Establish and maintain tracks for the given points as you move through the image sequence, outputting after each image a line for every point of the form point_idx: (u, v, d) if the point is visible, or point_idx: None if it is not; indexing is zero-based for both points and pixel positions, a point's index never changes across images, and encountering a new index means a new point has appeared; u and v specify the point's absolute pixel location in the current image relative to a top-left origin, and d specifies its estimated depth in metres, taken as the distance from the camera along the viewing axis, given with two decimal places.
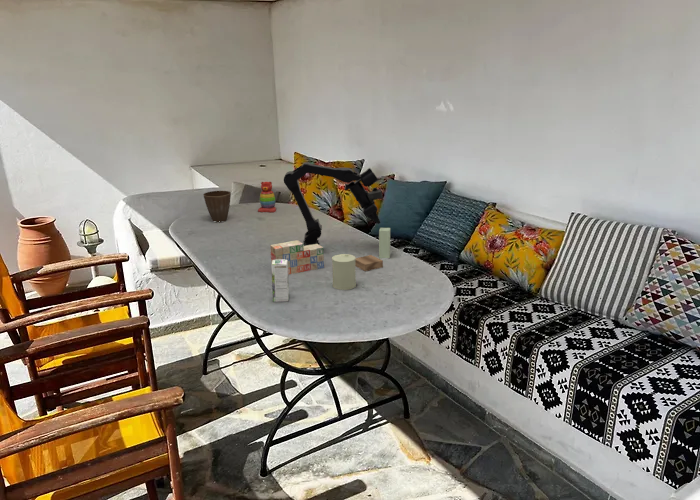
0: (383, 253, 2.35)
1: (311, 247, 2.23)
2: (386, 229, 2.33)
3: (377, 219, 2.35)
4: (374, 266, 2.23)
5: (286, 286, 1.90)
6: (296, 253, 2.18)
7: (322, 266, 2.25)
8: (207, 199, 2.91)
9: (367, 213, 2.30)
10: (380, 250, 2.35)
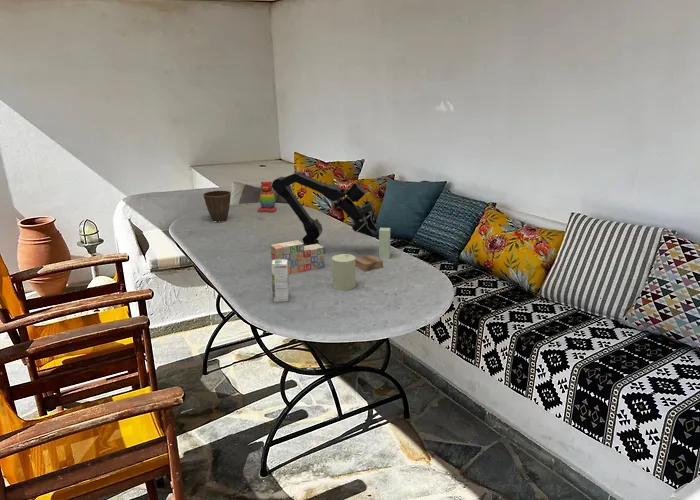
0: (383, 253, 2.35)
1: (312, 247, 2.23)
2: (386, 229, 2.33)
3: (370, 233, 2.30)
4: (374, 266, 2.23)
5: (286, 286, 1.90)
6: (296, 253, 2.18)
7: (322, 266, 2.25)
8: (207, 199, 2.91)
9: (356, 229, 2.26)
10: (380, 250, 2.35)
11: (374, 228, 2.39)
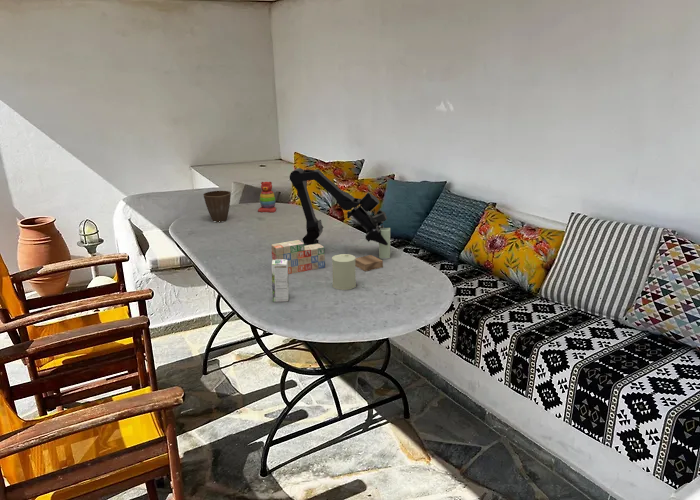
0: (383, 253, 2.35)
1: (312, 247, 2.23)
2: (386, 229, 2.33)
3: (383, 241, 2.32)
4: (374, 266, 2.23)
5: (286, 286, 1.90)
6: (297, 253, 2.18)
7: (323, 266, 2.25)
8: (207, 199, 2.91)
9: (369, 238, 2.27)
10: (380, 250, 2.35)
11: None
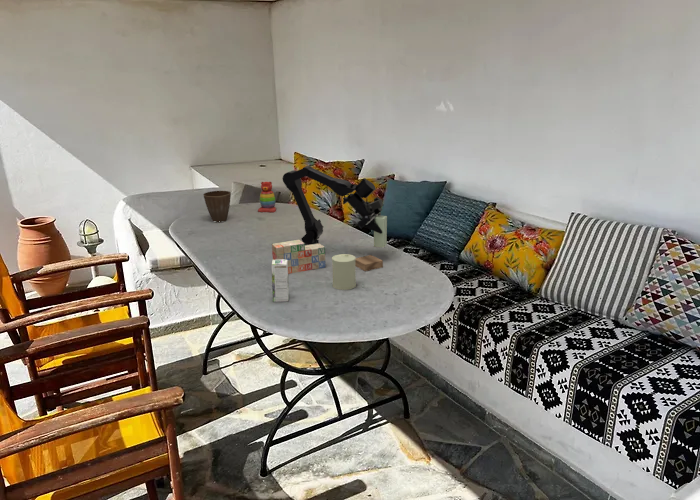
0: (377, 241, 2.29)
1: (313, 246, 2.23)
2: (382, 217, 2.27)
3: (378, 229, 2.26)
4: (374, 266, 2.23)
5: (286, 286, 1.90)
6: (297, 252, 2.19)
7: (324, 266, 2.26)
8: (207, 199, 2.91)
9: (361, 225, 2.21)
10: (375, 238, 2.29)
11: None
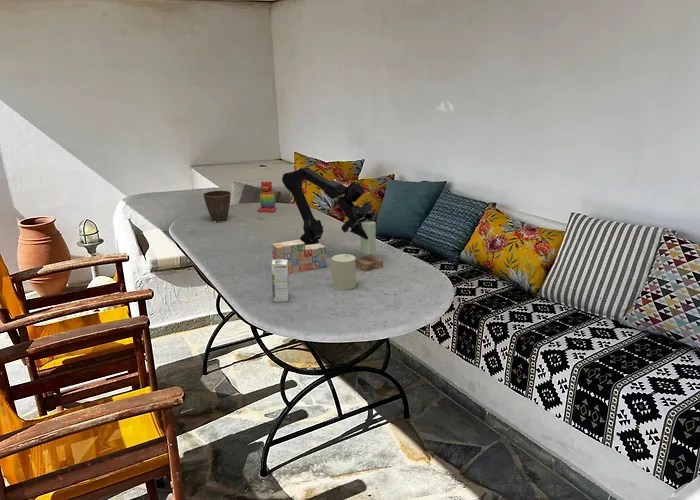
0: (364, 247, 2.22)
1: (313, 246, 2.24)
2: (369, 222, 2.20)
3: (363, 234, 2.19)
4: (374, 266, 2.23)
5: (286, 286, 1.90)
6: (298, 252, 2.19)
7: (324, 265, 2.26)
8: (207, 199, 2.91)
9: (344, 229, 2.17)
10: (362, 243, 2.22)
11: None
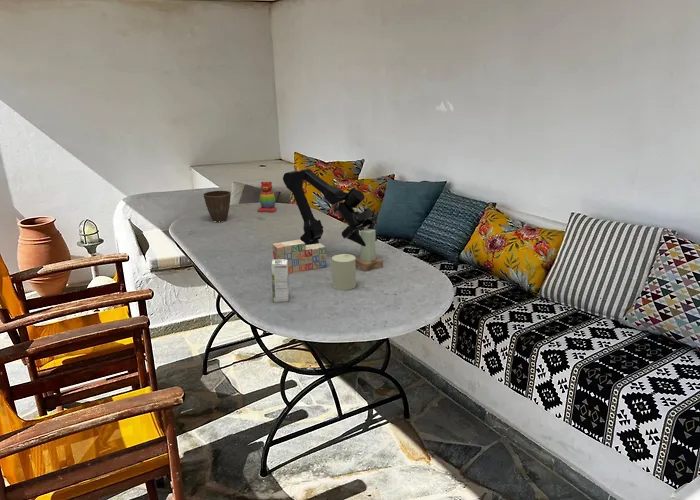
0: (364, 255, 2.23)
1: (313, 246, 2.24)
2: (369, 230, 2.21)
3: (361, 241, 2.19)
4: (374, 266, 2.23)
5: (286, 286, 1.90)
6: (298, 252, 2.19)
7: (324, 265, 2.26)
8: (207, 199, 2.91)
9: (344, 235, 2.18)
10: (362, 251, 2.23)
11: None
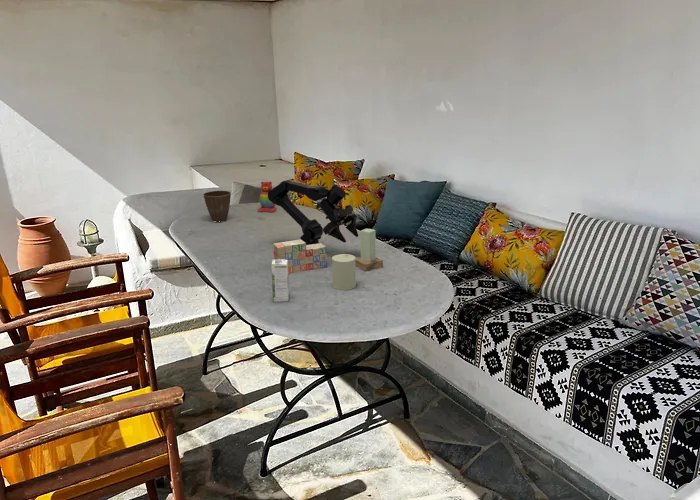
0: (364, 255, 2.23)
1: (314, 246, 2.24)
2: (369, 230, 2.21)
3: (341, 238, 2.24)
4: (374, 266, 2.23)
5: (286, 286, 1.90)
6: (299, 252, 2.19)
7: (325, 265, 2.26)
8: (207, 199, 2.91)
9: (325, 231, 2.23)
10: (362, 251, 2.23)
11: (355, 233, 2.32)
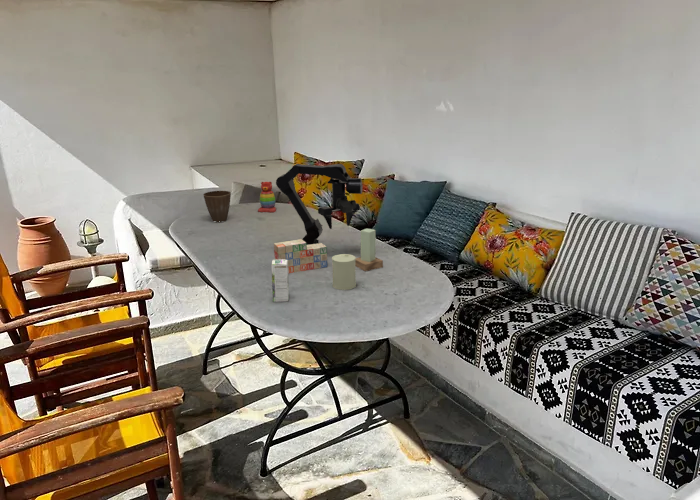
0: (364, 255, 2.23)
1: (315, 246, 2.24)
2: (369, 230, 2.21)
3: (329, 224, 2.34)
4: (374, 266, 2.23)
5: (286, 286, 1.90)
6: (299, 252, 2.19)
7: (325, 265, 2.26)
8: (207, 199, 2.91)
9: (319, 212, 2.32)
10: (362, 251, 2.23)
11: (347, 222, 2.39)
